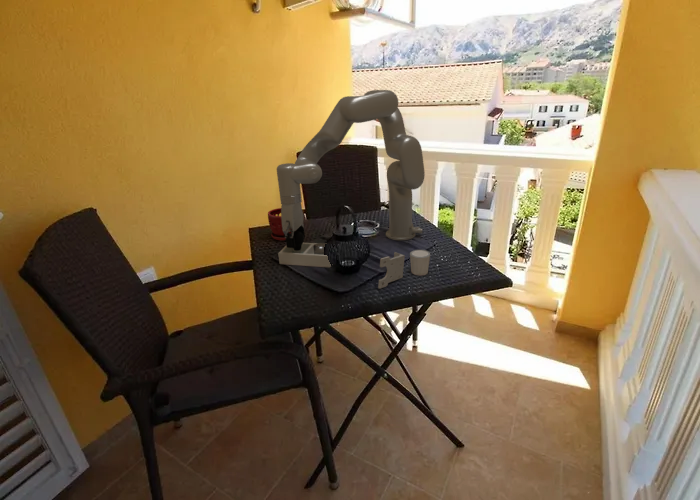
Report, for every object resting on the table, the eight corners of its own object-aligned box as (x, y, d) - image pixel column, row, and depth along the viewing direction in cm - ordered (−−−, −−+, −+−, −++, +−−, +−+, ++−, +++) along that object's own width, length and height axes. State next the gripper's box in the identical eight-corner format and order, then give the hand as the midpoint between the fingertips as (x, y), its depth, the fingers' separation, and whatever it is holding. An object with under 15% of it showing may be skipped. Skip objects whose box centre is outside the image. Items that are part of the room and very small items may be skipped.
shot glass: (406, 269, 131) (406, 251, 128) (423, 265, 133) (423, 247, 130) (415, 278, 125) (416, 259, 122) (433, 273, 127) (434, 255, 124)
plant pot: (280, 245, 158) (276, 218, 153) (265, 237, 167) (261, 211, 163) (306, 236, 165) (303, 210, 161) (290, 229, 175) (287, 205, 170)
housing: (338, 255, 145) (337, 240, 143) (330, 267, 136) (328, 252, 133) (291, 252, 151) (289, 238, 148) (279, 263, 141) (277, 249, 138)
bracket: (392, 276, 129) (394, 249, 126) (402, 280, 126) (405, 252, 123) (370, 284, 122) (372, 255, 119) (379, 288, 119) (382, 259, 116)
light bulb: (294, 252, 147) (291, 228, 143) (308, 252, 146) (305, 228, 142) (288, 258, 142) (285, 233, 138) (302, 259, 141) (299, 234, 137)
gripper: (290, 192, 143) (295, 233, 150) (270, 205, 128) (277, 251, 135) (309, 192, 141) (313, 234, 148) (291, 206, 126) (296, 252, 133)
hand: (296, 242), depth 142 cm, fingers open, 9 cm apart
